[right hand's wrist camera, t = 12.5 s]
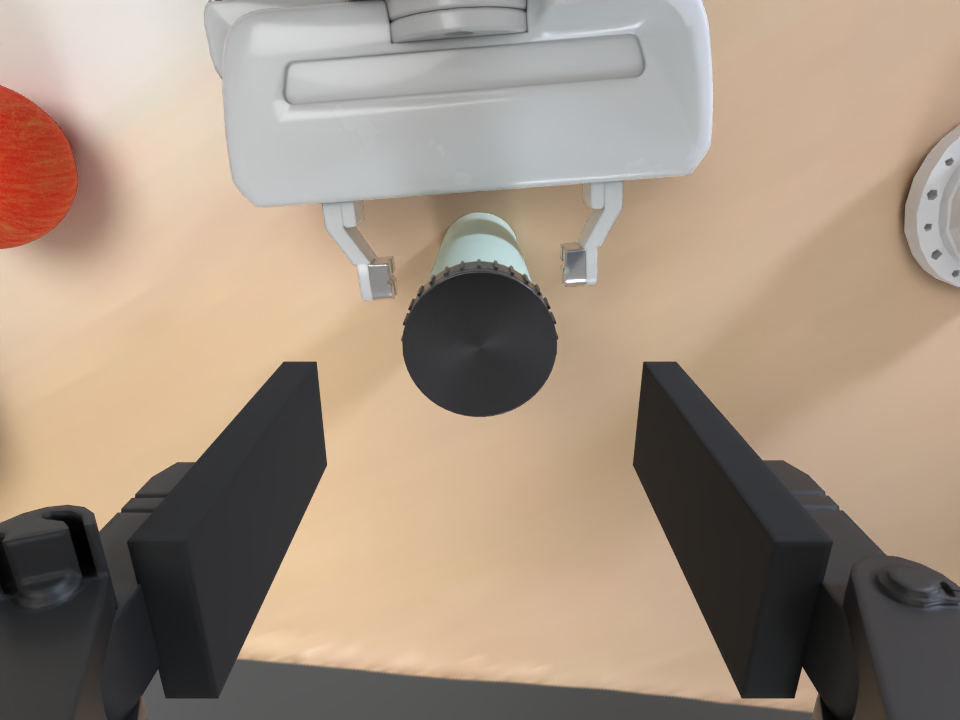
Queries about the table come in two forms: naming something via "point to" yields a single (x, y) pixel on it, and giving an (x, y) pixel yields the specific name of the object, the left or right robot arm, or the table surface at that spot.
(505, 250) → the jar
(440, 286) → the lid
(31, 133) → the apple
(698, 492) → the right robot arm
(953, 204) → the mechanical component
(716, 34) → the table surface
